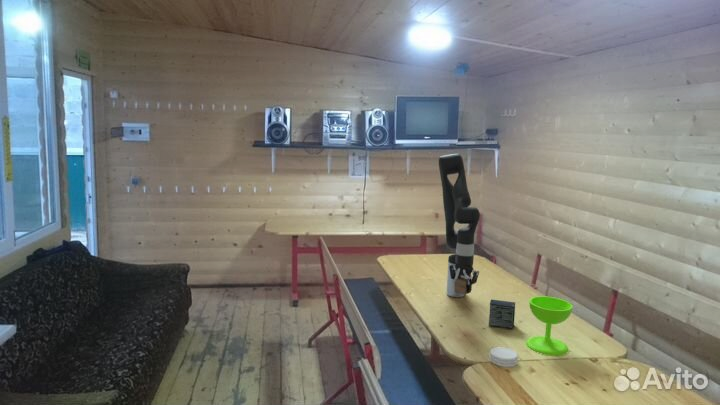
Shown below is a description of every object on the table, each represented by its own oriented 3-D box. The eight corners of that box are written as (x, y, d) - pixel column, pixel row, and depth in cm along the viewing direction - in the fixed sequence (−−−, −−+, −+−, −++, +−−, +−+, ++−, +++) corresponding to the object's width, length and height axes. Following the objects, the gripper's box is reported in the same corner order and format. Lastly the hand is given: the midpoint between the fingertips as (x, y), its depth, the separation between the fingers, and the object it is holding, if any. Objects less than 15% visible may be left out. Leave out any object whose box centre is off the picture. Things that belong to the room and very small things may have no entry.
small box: (514, 324, 218) (515, 301, 216) (513, 330, 212) (515, 306, 210) (489, 320, 221) (491, 298, 219) (488, 326, 215) (489, 303, 213)
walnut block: (460, 289, 219) (461, 276, 218) (470, 292, 216) (471, 279, 215) (454, 292, 216) (455, 278, 215) (464, 295, 212) (465, 281, 211)
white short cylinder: (490, 353, 190) (490, 344, 189) (517, 357, 187) (518, 348, 186) (489, 365, 180) (489, 356, 180) (517, 369, 177) (518, 360, 177)
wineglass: (546, 358, 186) (550, 313, 183) (517, 341, 200) (520, 298, 198) (577, 352, 192) (582, 307, 190) (547, 335, 207) (551, 294, 204)
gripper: (484, 254, 211) (481, 292, 214) (455, 248, 221) (453, 284, 223) (475, 258, 206) (472, 297, 208) (445, 251, 215) (444, 288, 218)
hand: (462, 290), depth 216 cm, fingers closed on walnut block, 5 cm apart
